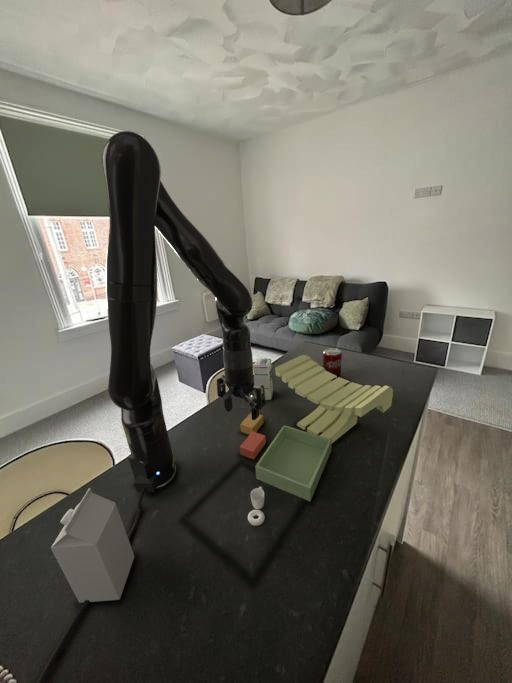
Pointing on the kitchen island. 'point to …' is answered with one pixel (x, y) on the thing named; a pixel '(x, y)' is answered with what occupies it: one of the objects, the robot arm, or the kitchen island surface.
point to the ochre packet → (251, 424)
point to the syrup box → (264, 376)
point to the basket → (294, 461)
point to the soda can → (332, 361)
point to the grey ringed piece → (257, 506)
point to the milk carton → (94, 549)
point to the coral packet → (253, 445)
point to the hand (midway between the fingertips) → (241, 414)
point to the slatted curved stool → (331, 397)
